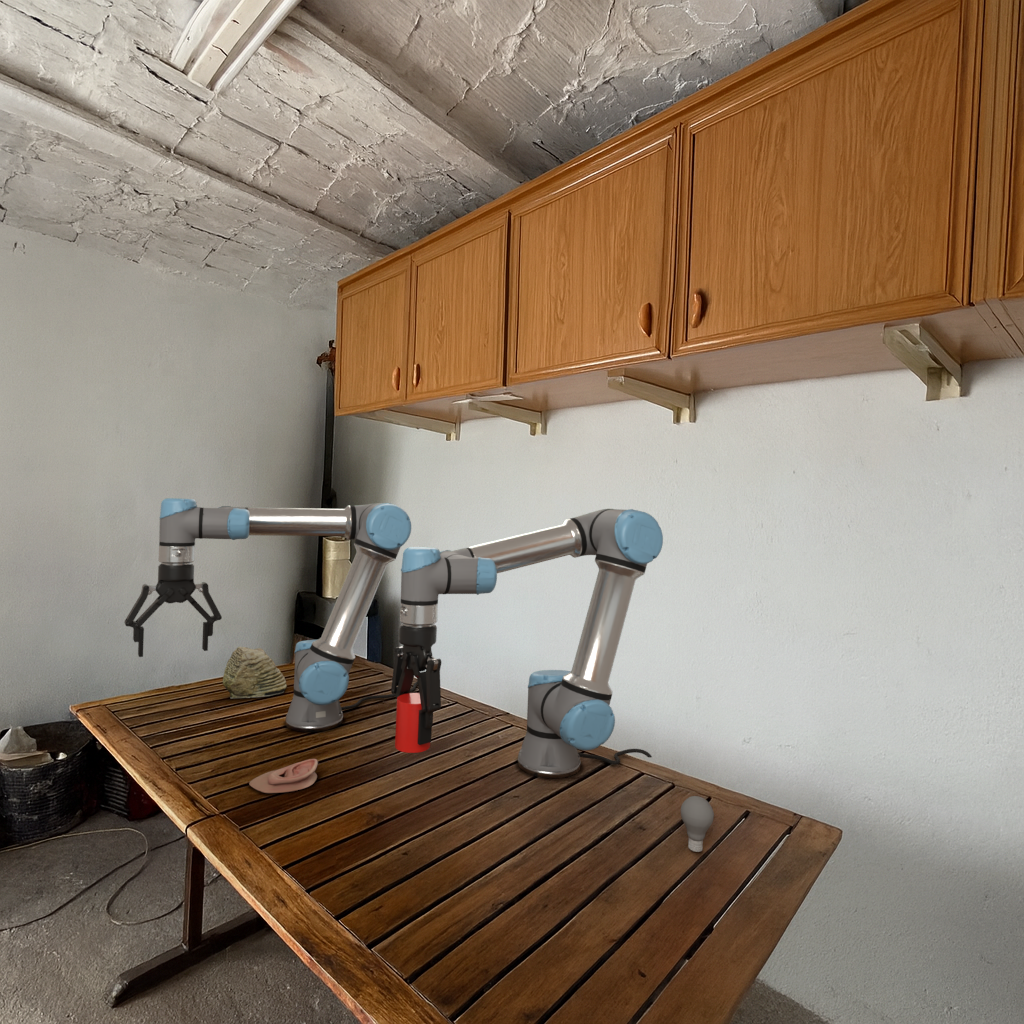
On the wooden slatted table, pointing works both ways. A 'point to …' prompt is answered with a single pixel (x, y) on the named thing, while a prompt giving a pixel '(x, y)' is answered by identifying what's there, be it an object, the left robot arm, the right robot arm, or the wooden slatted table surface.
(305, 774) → the anatomical model
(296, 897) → the wooden slatted table surface
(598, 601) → the right robot arm
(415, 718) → the cylinder
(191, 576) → the left robot arm
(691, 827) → the light bulb
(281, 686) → the fossil
